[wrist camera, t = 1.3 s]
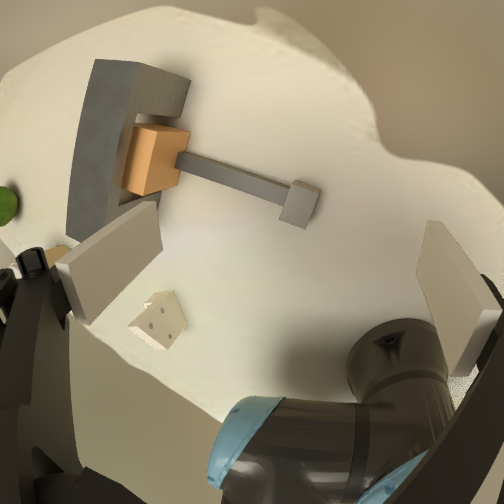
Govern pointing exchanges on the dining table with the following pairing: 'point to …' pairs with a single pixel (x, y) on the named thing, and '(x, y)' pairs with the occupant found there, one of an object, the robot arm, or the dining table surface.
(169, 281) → the dining table surface
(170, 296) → the white angled block
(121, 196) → the housing
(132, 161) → the plug
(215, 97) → the dining table surface
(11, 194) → the avocado
